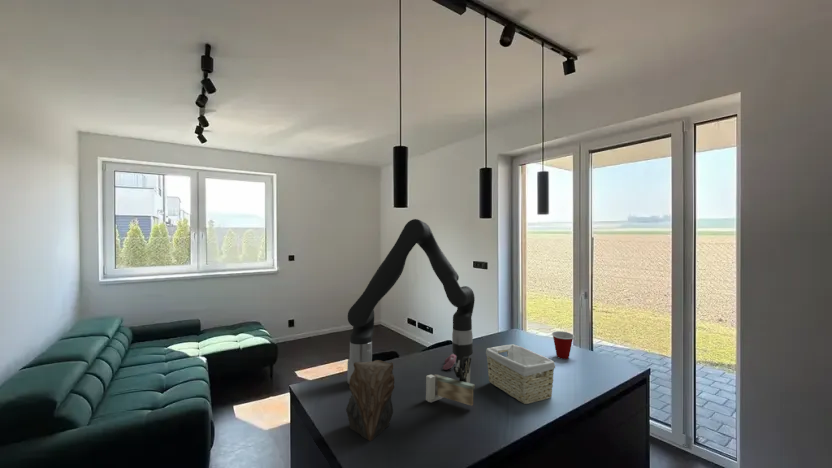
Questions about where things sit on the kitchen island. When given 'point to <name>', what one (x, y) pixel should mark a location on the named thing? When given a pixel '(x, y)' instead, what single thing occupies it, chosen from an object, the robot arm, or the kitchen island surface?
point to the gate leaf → (454, 389)
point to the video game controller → (449, 362)
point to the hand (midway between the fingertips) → (463, 387)
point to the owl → (370, 398)
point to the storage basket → (520, 373)
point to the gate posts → (431, 388)
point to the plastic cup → (562, 343)
